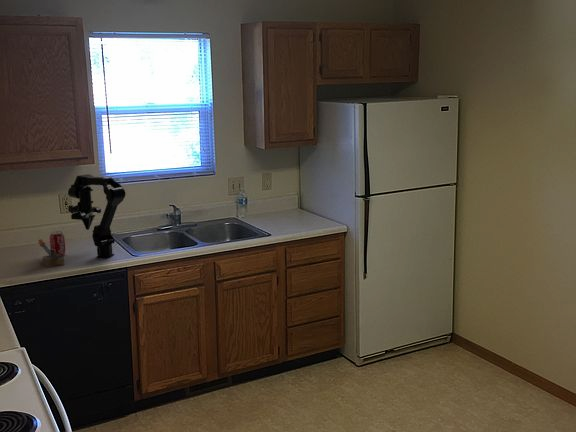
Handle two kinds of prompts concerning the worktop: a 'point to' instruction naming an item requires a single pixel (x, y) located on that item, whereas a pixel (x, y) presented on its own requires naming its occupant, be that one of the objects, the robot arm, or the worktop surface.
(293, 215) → the worktop surface
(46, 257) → the switch block
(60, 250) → the soda can
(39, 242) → the copper roller
